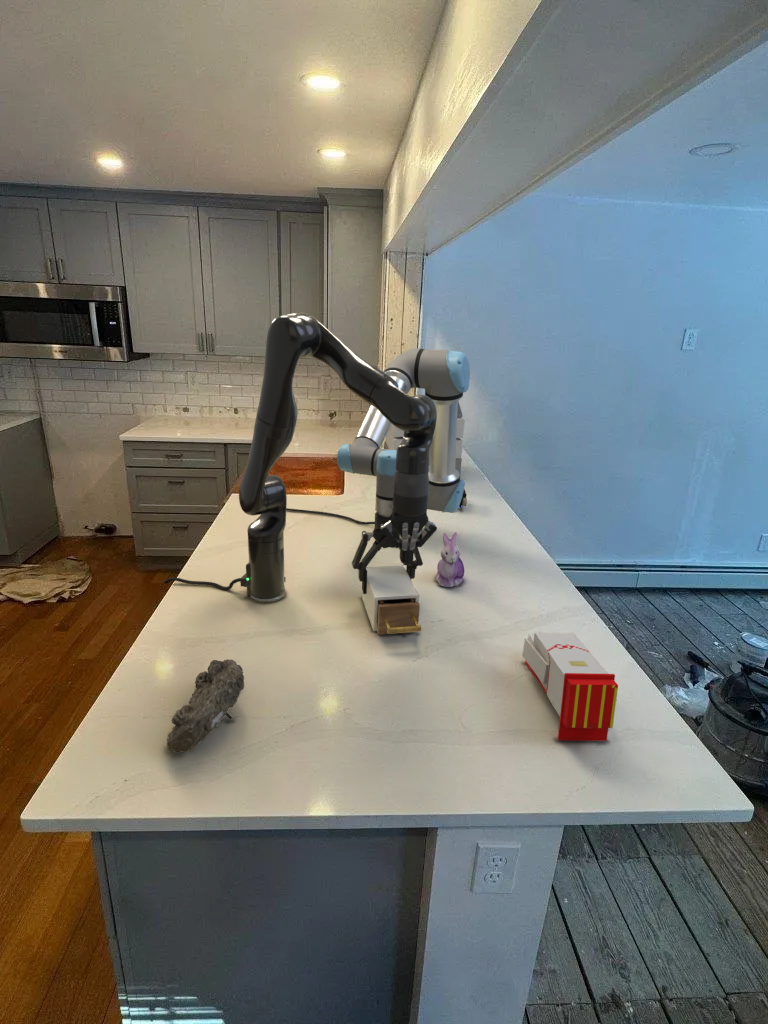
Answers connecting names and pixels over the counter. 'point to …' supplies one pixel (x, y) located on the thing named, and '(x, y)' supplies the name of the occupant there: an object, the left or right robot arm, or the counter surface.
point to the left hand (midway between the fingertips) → (406, 563)
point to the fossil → (206, 705)
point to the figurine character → (463, 500)
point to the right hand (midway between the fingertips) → (386, 590)
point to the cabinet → (386, 588)
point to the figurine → (450, 563)
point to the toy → (573, 684)
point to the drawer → (398, 616)
